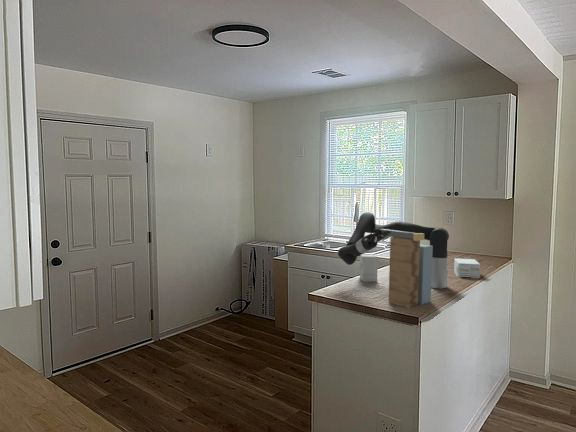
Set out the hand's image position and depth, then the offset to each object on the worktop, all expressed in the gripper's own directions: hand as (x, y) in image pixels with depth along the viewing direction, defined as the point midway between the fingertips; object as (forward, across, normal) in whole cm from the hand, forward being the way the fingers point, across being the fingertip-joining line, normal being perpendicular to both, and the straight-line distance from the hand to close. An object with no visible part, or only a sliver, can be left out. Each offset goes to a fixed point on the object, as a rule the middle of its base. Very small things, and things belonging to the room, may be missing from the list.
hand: (387, 231), depth 216 cm
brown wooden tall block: (-8, 0, -35) cm, 36 cm away
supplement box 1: (-47, -24, -13) cm, 54 cm away
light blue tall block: (-8, -10, -35) cm, 37 cm away
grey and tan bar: (+5, 0, -6) cm, 7 cm away
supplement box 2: (-25, -87, -26) cm, 94 cm away
